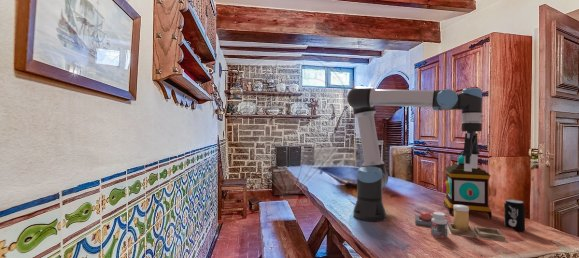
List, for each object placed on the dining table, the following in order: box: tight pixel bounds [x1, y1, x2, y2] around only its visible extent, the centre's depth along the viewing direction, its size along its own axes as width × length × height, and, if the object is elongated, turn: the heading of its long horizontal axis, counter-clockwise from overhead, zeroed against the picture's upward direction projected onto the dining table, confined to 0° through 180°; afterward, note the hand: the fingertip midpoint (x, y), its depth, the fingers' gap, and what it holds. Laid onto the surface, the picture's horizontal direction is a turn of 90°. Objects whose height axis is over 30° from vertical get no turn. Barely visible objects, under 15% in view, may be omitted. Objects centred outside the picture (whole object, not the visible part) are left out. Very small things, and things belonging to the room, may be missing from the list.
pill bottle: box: [430, 211, 448, 240], centre depth 101 cm, size 5×5×10 cm
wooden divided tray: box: [447, 222, 508, 243], centre depth 104 cm, size 18×10×3 cm, turn 66°
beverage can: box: [503, 198, 526, 233], centre depth 112 cm, size 7×7×12 cm
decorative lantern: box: [442, 154, 493, 220], centre depth 136 cm, size 20×20×30 cm
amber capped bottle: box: [453, 205, 470, 231], centre depth 106 cm, size 5×5×10 cm
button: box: [419, 211, 432, 221], centre depth 116 cm, size 4×4×4 cm
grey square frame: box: [414, 214, 434, 228], centre depth 116 cm, size 8×8×3 cm
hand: (471, 169), depth 120 cm, fingers open, 13 cm apart
